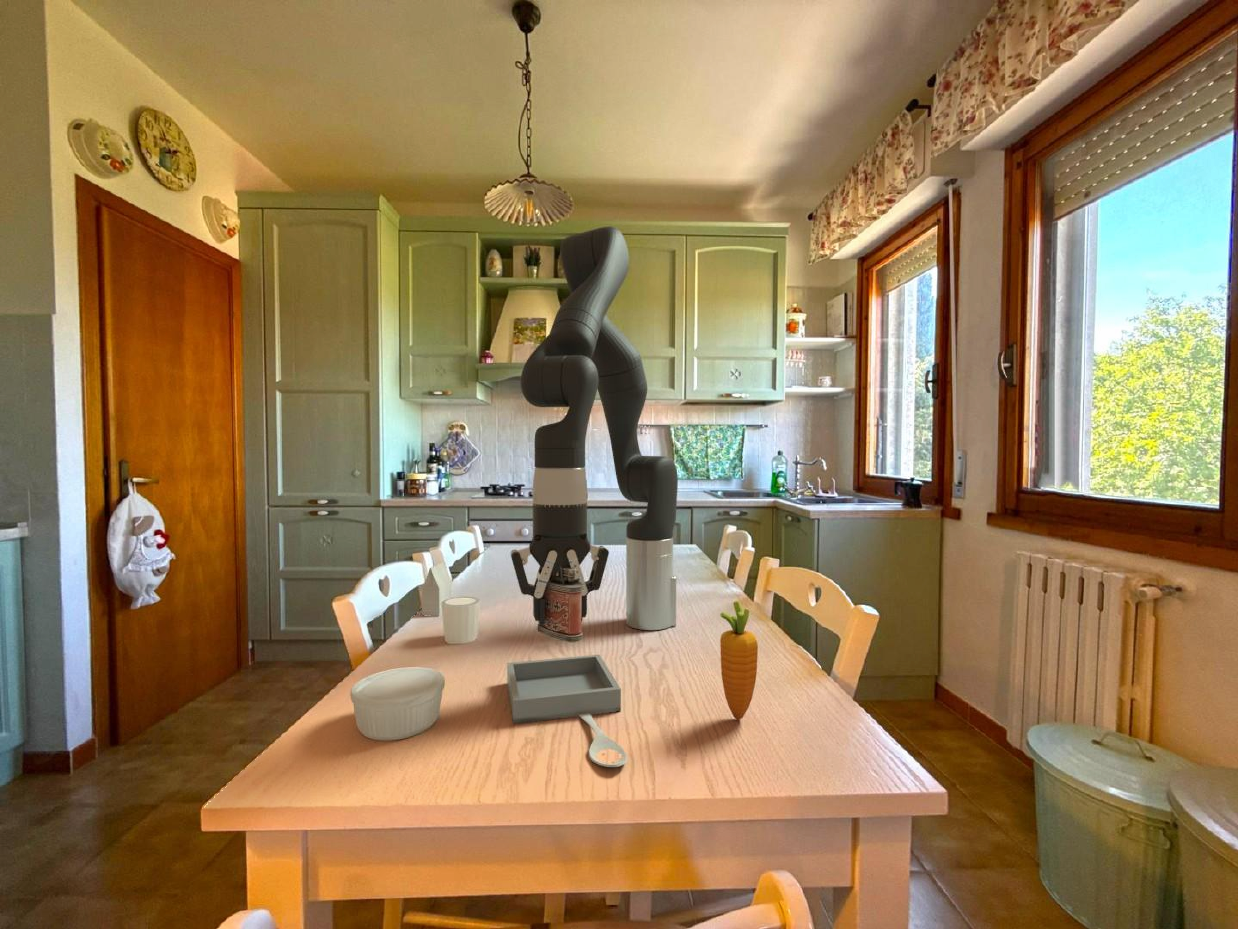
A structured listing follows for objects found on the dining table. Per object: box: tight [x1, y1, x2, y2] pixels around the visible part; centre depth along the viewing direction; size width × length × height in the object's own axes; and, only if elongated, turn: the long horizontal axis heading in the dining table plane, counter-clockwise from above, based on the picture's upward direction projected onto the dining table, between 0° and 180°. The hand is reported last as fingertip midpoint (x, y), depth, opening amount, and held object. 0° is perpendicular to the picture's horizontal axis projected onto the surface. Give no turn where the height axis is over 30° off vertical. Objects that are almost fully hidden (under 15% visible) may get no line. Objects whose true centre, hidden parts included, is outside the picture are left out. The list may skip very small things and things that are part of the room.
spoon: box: [578, 713, 628, 768], centre depth 71 cm, size 4×21×2 cm, turn 18°
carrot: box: [719, 601, 759, 721], centre depth 73 cm, size 5×5×15 cm
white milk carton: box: [421, 561, 453, 617], centre depth 121 cm, size 4×7×10 cm, turn 175°
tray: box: [506, 654, 622, 725], centre depth 80 cm, size 14×13×3 cm
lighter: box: [537, 566, 584, 643], centre depth 80 cm, size 8×3×10 cm, turn 47°
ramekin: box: [350, 666, 446, 742], centre depth 72 cm, size 11×11×5 cm
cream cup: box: [441, 596, 481, 645], centre depth 104 cm, size 7×7×7 cm
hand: (559, 621), depth 80 cm, fingers closed on lighter, 4 cm apart
